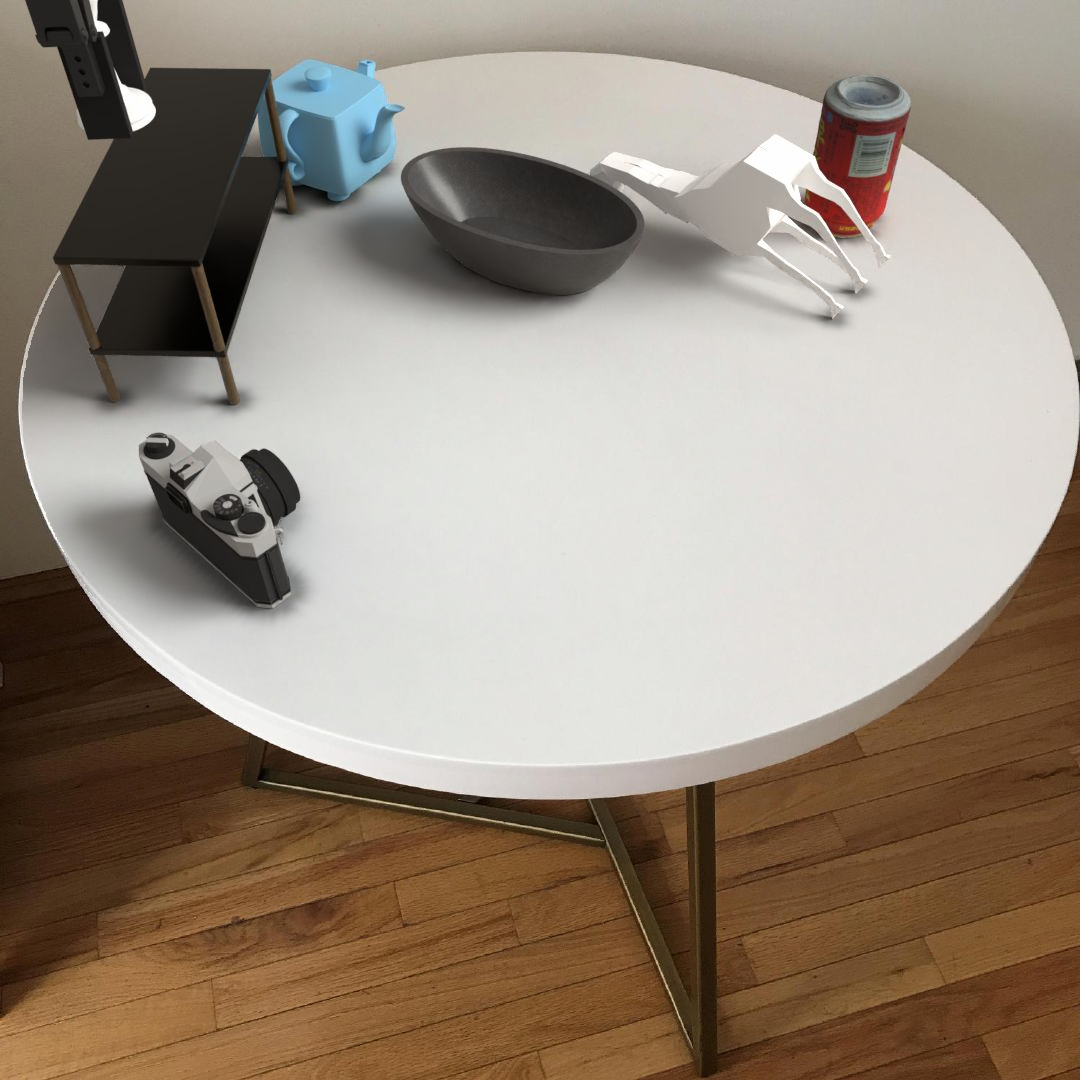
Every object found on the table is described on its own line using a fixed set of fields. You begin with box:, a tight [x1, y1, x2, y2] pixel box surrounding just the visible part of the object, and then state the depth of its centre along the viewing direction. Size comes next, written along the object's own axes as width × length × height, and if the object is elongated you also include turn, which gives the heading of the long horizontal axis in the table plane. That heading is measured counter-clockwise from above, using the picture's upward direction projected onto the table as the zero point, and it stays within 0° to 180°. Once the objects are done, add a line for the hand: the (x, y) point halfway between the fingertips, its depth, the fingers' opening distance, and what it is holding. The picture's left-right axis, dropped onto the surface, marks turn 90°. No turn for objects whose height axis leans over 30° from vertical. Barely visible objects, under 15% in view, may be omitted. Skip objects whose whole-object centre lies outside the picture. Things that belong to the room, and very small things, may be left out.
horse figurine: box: [588, 133, 892, 320], centre depth 97 cm, size 5×16×25 cm
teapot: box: [257, 58, 406, 202], centre depth 105 cm, size 18×14×10 cm
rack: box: [52, 67, 298, 406], centre depth 92 cm, size 26×10×13 cm, turn 178°
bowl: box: [400, 146, 646, 296], centre depth 97 cm, size 12×22×6 cm, turn 60°
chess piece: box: [75, 0, 156, 131], centre depth 71 cm, size 5×5×10 cm
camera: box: [138, 432, 301, 609], centre depth 77 cm, size 13×8×9 cm, turn 49°
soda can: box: [804, 74, 912, 239], centre depth 99 cm, size 7×7×12 cm
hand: (117, 112), depth 75 cm, fingers closed on chess piece, 5 cm apart
